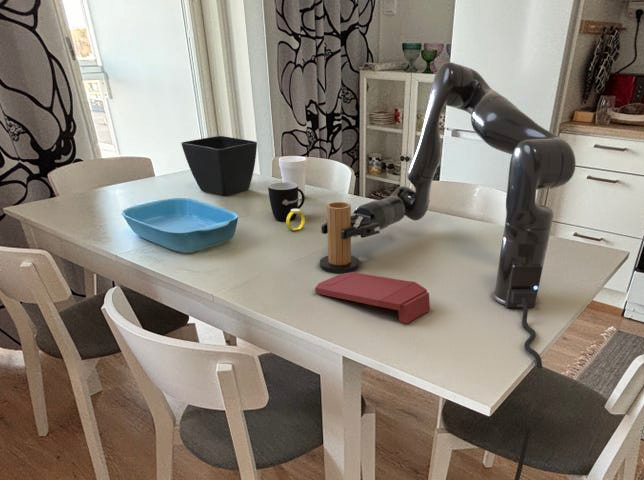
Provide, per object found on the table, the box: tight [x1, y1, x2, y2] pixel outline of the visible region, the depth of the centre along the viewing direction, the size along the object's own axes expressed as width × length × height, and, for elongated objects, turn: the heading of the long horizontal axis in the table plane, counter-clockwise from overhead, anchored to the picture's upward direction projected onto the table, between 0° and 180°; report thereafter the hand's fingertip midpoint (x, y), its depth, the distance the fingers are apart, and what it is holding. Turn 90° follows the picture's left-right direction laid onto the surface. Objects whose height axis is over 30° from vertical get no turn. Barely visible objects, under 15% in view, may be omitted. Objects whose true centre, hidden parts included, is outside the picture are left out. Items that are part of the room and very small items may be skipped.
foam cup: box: [278, 155, 308, 200], centre depth 180 cm, size 10×9×13 cm
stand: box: [319, 255, 361, 274], centre depth 127 cm, size 10×10×12 cm
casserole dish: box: [121, 197, 239, 254], centre depth 145 cm, size 37×22×7 cm, turn 49°
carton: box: [314, 271, 431, 324], centre depth 114 cm, size 12×5×25 cm
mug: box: [267, 181, 305, 223], centre depth 161 cm, size 12×9×10 cm
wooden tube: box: [326, 201, 352, 265], centre depth 126 cm, size 6×6×14 cm
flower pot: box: [180, 135, 258, 197], centre depth 186 cm, size 19×19×17 cm
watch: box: [285, 208, 306, 232], centre depth 152 cm, size 6×3×6 cm, turn 134°
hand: (332, 232), depth 124 cm, fingers closed on wooden tube, 5 cm apart
